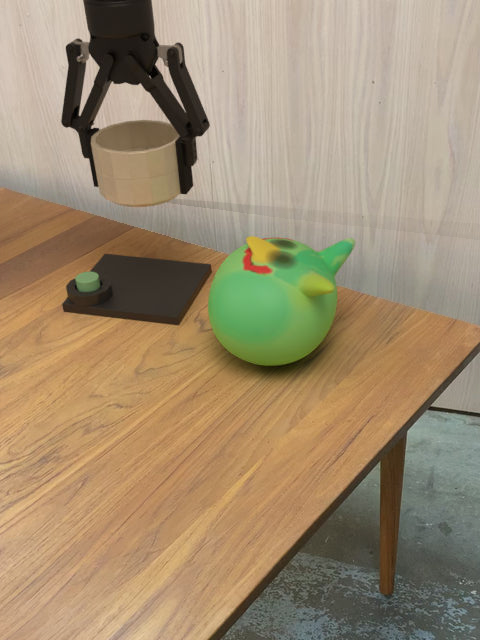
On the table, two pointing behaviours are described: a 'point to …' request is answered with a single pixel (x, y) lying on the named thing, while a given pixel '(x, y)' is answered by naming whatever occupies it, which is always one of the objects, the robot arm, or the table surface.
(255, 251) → the toy bird
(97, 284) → the button
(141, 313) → the scale
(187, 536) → the table surface
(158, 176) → the bowl
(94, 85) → the robot arm
